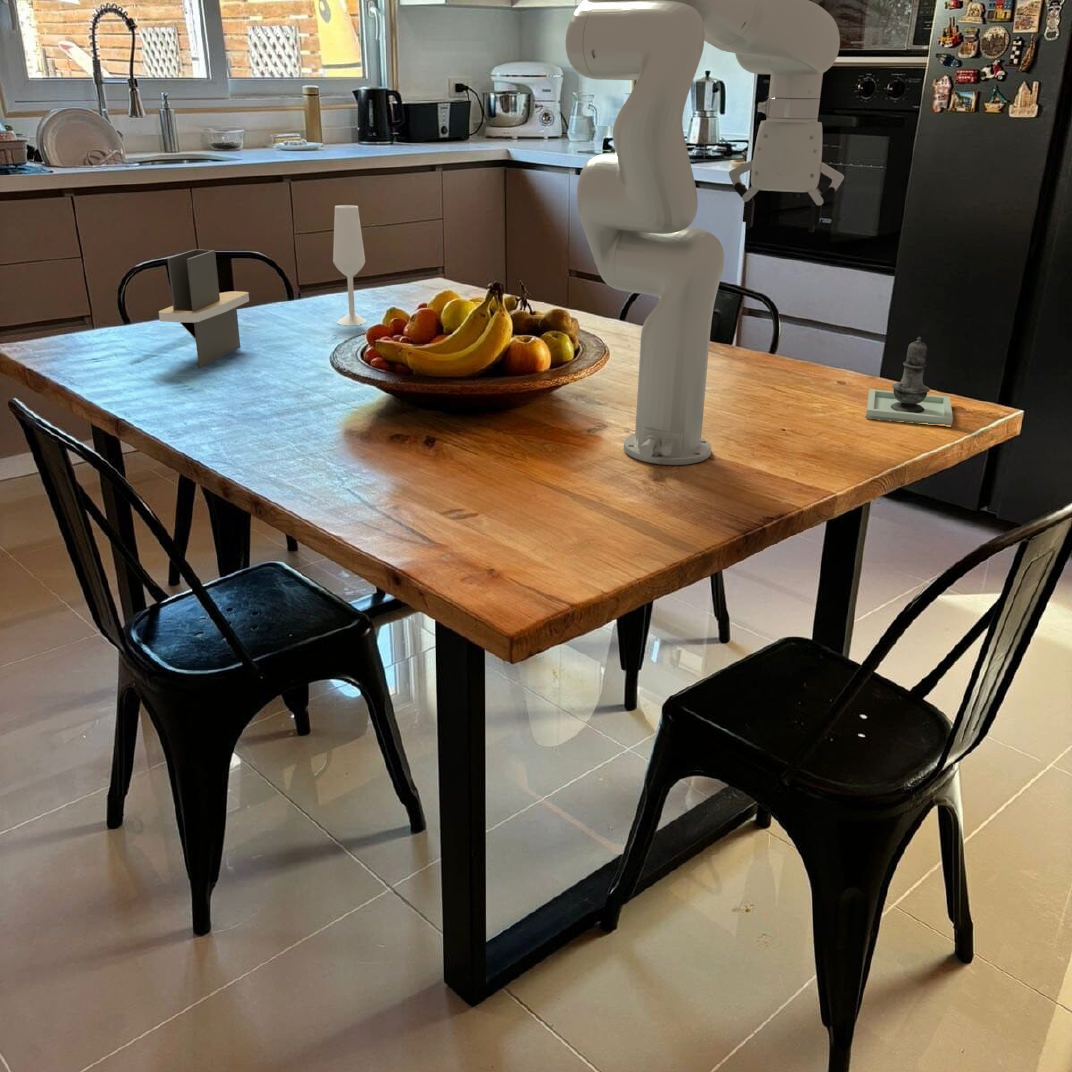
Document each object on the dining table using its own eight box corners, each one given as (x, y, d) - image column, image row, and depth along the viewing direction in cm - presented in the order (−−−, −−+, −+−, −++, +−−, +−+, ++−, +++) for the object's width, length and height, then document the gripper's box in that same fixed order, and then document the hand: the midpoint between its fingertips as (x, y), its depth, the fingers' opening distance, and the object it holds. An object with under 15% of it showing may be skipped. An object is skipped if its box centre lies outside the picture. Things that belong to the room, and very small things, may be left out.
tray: (951, 427, 166) (952, 418, 165) (865, 418, 169) (867, 409, 169) (948, 405, 177) (949, 396, 176) (868, 397, 181) (869, 389, 180)
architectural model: (195, 332, 217) (184, 234, 209) (311, 339, 214) (305, 239, 206) (94, 380, 183) (76, 265, 175) (231, 390, 179) (219, 272, 171)
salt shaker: (913, 415, 169) (925, 342, 164) (881, 407, 173) (893, 335, 168) (933, 409, 172) (946, 337, 168) (901, 401, 177) (913, 330, 172)
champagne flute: (342, 326, 223) (336, 209, 213) (332, 320, 228) (325, 205, 219) (372, 323, 226) (367, 207, 216) (361, 317, 231) (356, 204, 222)
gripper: (731, 110, 157) (721, 229, 164) (851, 114, 152) (835, 235, 159) (738, 109, 163) (728, 223, 170) (853, 112, 159) (838, 229, 166)
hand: (779, 229), depth 165 cm, fingers open, 9 cm apart
